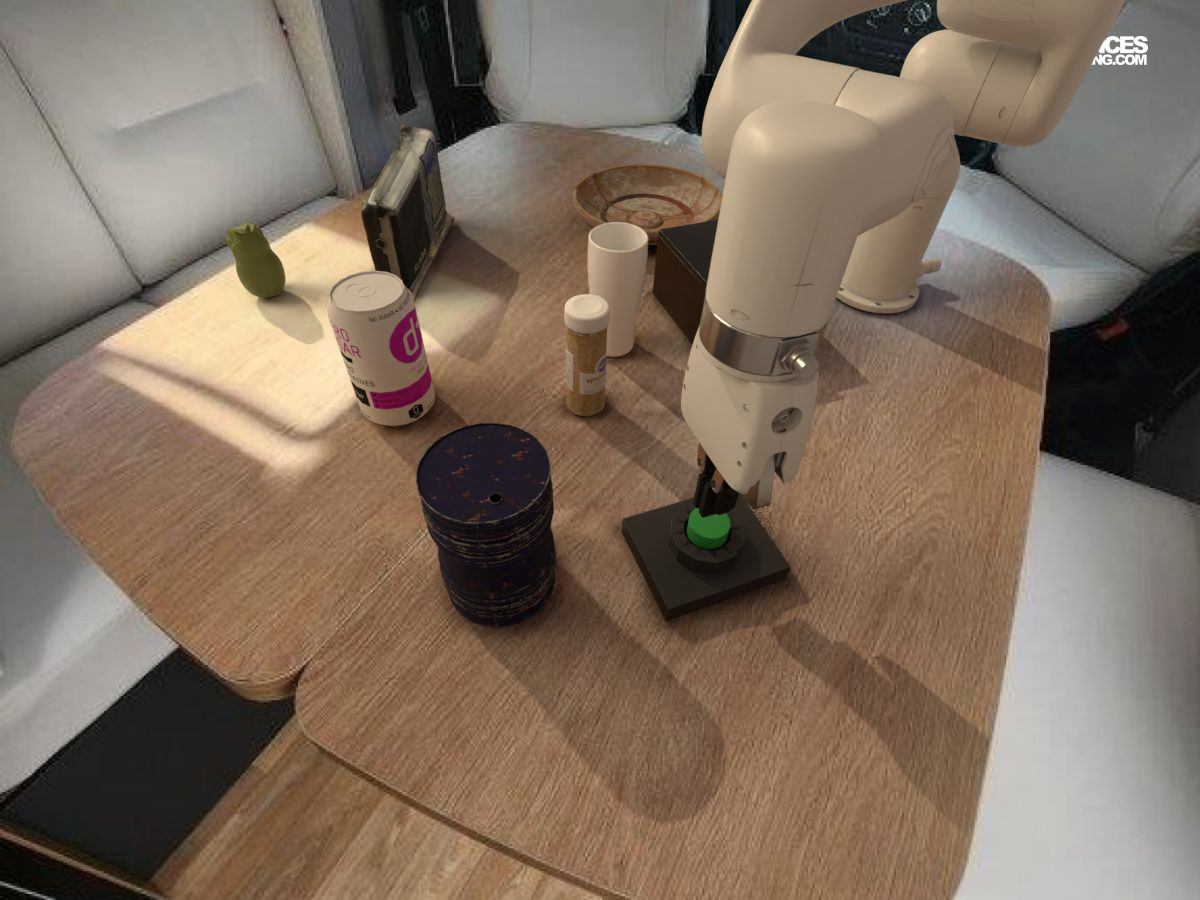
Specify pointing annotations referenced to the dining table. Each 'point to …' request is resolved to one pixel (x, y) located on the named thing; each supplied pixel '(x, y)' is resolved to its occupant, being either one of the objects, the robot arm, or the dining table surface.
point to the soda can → (382, 346)
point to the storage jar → (491, 521)
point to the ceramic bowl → (646, 198)
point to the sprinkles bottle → (586, 353)
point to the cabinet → (684, 272)
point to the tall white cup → (618, 278)
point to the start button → (708, 530)
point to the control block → (701, 558)
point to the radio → (407, 210)
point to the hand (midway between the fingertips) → (713, 506)
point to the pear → (256, 261)
